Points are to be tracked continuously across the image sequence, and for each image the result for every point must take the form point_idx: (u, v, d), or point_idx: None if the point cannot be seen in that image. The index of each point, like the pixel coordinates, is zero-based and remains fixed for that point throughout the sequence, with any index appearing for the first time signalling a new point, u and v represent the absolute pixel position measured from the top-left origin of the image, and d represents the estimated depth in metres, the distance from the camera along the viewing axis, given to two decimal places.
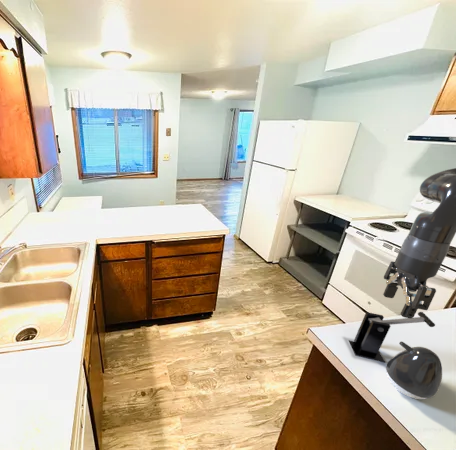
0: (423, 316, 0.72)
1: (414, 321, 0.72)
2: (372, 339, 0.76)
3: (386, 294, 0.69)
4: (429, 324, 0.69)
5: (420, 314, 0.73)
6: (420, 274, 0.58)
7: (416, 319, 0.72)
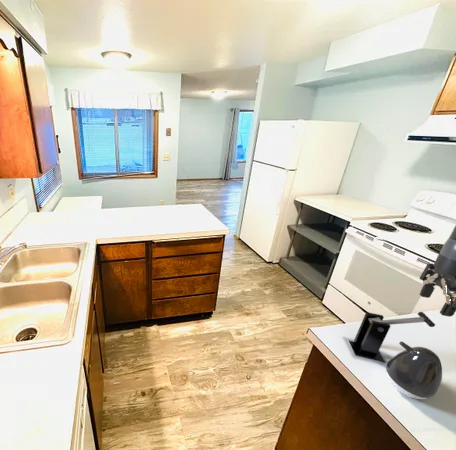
0: (423, 316, 0.72)
1: (414, 321, 0.72)
2: (372, 339, 0.76)
3: (423, 294, 0.73)
4: (429, 324, 0.69)
5: (420, 314, 0.73)
6: None
7: (416, 319, 0.72)
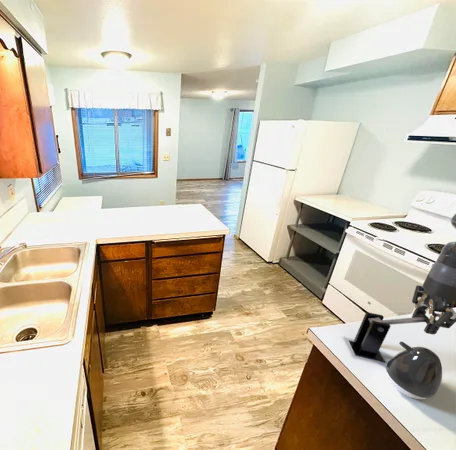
0: (423, 316, 0.72)
1: (414, 321, 0.72)
2: (372, 339, 0.76)
3: (415, 317, 0.74)
4: None
5: (420, 314, 0.73)
6: (447, 297, 0.65)
7: (416, 319, 0.72)
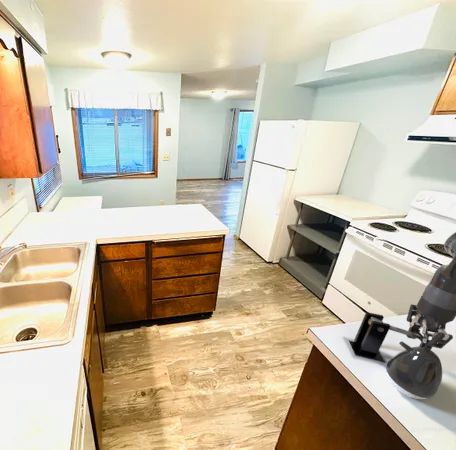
0: (419, 334, 0.74)
1: (410, 335, 0.74)
2: (372, 339, 0.76)
3: None
4: None
5: (416, 331, 0.75)
6: (440, 319, 0.67)
7: (413, 334, 0.74)
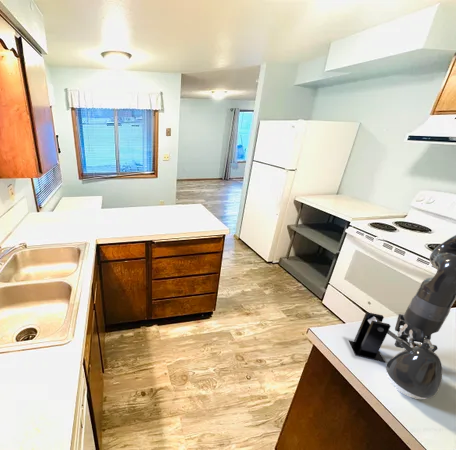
0: (408, 343, 0.76)
1: None
2: (372, 339, 0.76)
3: (397, 344, 0.79)
4: None
5: (406, 341, 0.77)
6: (425, 329, 0.69)
7: (404, 342, 0.75)
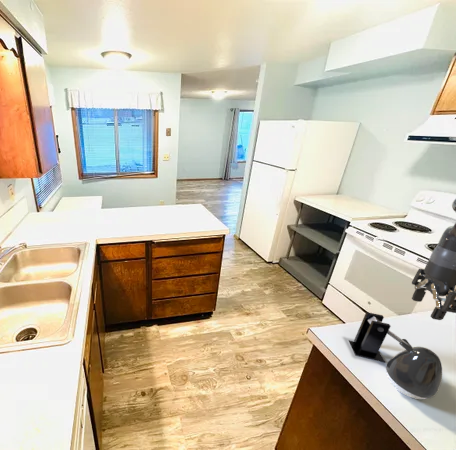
0: (408, 344, 0.76)
1: None
2: (372, 339, 0.76)
3: (415, 298, 0.76)
4: None
5: (405, 341, 0.77)
6: (449, 281, 0.65)
7: (404, 342, 0.75)
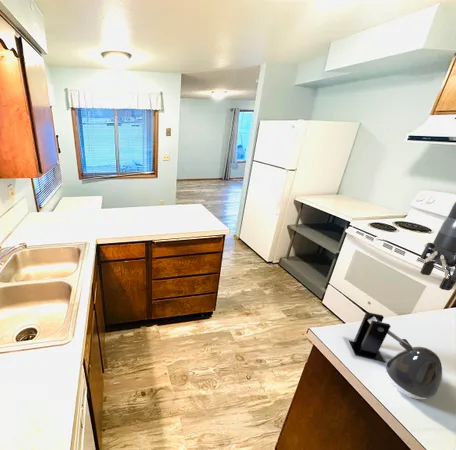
0: (408, 344, 0.76)
1: None
2: (372, 339, 0.76)
3: (423, 272, 0.78)
4: None
5: (405, 341, 0.77)
6: None
7: (404, 342, 0.75)
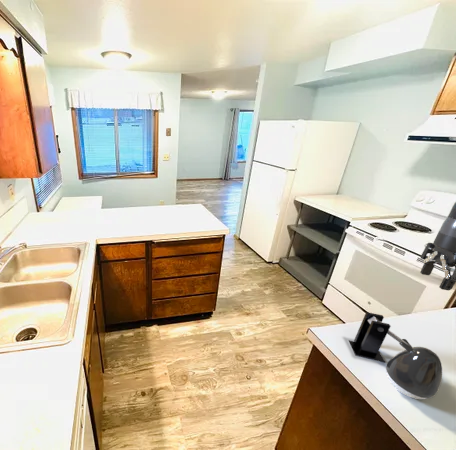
0: (408, 344, 0.76)
1: None
2: (372, 339, 0.76)
3: (423, 272, 0.78)
4: None
5: (405, 341, 0.77)
6: None
7: (404, 342, 0.75)
